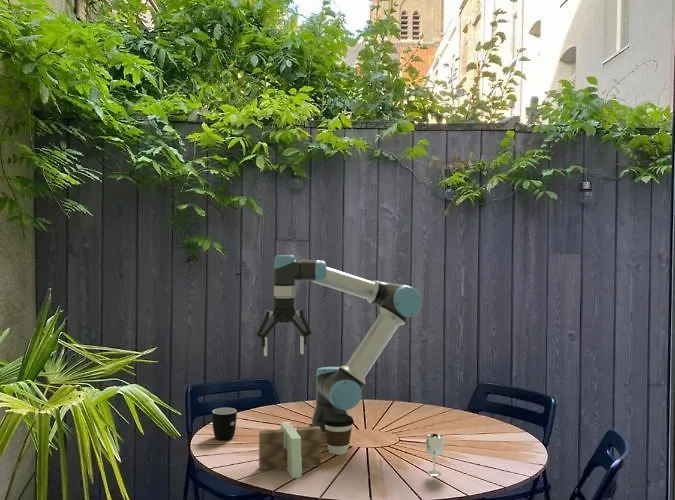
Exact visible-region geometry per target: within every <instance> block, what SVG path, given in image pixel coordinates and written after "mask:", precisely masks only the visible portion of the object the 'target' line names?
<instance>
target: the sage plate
mask: <svg viewBox="0 0 675 500" xmlns="http://www.w3.org/2000/svg"><path fill="white" fill-rule="evenodd" d="M280 429H283V431H284V449H285V448H286V450H287V468H286V470H287V472H288V473H289V475H290V478H292V479H298V478H302V475H303V473H302V471H303V467H302V458H301V437H300V436H299V434H298V433H297V429H295V427H294V426H293V425H292V423H291V422H290V421H281V422H280Z"/></svg>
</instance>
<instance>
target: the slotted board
mask: <svg viewBox="0 0 675 500" xmlns="http://www.w3.org/2000/svg"><path fill="white" fill-rule="evenodd" d="M258 431H259V432H258V436H259V437H258V469H259V471H260V472H264V471H267V472H268V471H275V470H284V469H286V470H287V450H286V448H285V449H284V431H283V429H281V428H279V429H266V430H258ZM296 432H297V433H298V434H299V436H300V437H301V458H302V468H303V466H306V467H313V466H312V465H316V466H321V465H322V429H321V428H320V427H319V426H303V427H301V426H300V427H296Z"/></svg>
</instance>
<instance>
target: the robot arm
mask: <svg viewBox="0 0 675 500" xmlns="http://www.w3.org/2000/svg"><path fill="white" fill-rule="evenodd" d="M273 262H274V263H273V281H274V282H273V297H274V298H273V310H268V309H266V310H265V312H264V317H263V319H262V320H261V323H260V324H259V326H258V329H257V331H256V332H255V335H256V336H257V337H259V338H260V345H261V347H263V356H264V357H268V337H267V336H268V334H269V333H270V332H271V331H272V330H273V328H274V327H275V326H276V325H277V324H278V323H280V324H282V323H287V324H288V323H289V322H291V323H292V324H293V326H294V327H295V328H296V329H297V330H298V332H299V333H300V334H301V335H300V336H299V339H300V340H299V341H300V343H299V348H300V349H299V354H300V355H304V354H305V351H304V350H305V346H306V345H307V337H308V336H309V335H312V331H311V329H310V326H309V325H308V322H307V321H306V319H305V316H304V311H303V310H302V309H300V308H299V309H295V298H294V297H295V281H296V282H299V281H300V282H301V281H304V282H305V281H307V282H311V283H313V284H317V285H319V286H324V287H326V288H329V289H333V290H336V291H339V292H343V293H344V294H345V293H346V294H348V295H352V296H356V297H359V298H361V299H364V300H367V302H368V303H369V304H372V305H375V306H378V307H379V311H380V312H379V315H378V316H377V318H376V320H375V321H374V323H372V326H370V329H369V330H368V331H367V333H366V334H365V336H364V337H363V339H362V340H361V342H360V343H359V345H358V347H357V348H356V350H355V351H354V352H353V353H352V356H351V357H350V358H349V360H348V361H347V363H346V364H345V365H341V366H324V367H323V366H322V367H319V368H317V369H316V374H315V380H316V381H315V385H316V386H315V387H316V388H315V393H316V394H315V408H314V410H313V411H314V412H313V414H312V417H311V427H313V426H319V427H320V428H321V430H324V431H325V424H323V419H324V417H325V416H327V415H330V414H346V415H349V414H348V410H352V409H355V408H356V407H357V406H358V404H359V403H361V402H360V401H361V400H362V390H363V388H364V387H365V386H366V379H365V378H366V376H367V375H368V373H369V372H370V370H371V369H372V368H373V366H374V364H375V363H376V362H377V360H378V359H379V357H380V355H381V354H382V352H383V351H384V349H385V348H386V346H387V345H388V343H389V341H390V340H391V338H392V337H393V336H394V334H395V332H396V331H397V329H398V328H399V327H400V326H403V325H404V326H405V324H406V323H407V321H408V320H409V319H410V318H412V317H413V316H416V315H417V314H418V313H419V312H420V310H421V307H422V298H421V294H420V293H419V291H418V290H417V289H416V288H414V287H413V286H411V285H408V284H399V283H390V282H384V281H380V280H375V279H374V280H373V281H372V280H368V279H365V278H363V277H359V276H355V275H352V274H349V273H347V272H344V271H340V270H337V269H335V268H331V267H329V266H327V264H326V261H324V260H318V259H315V260H312V259H303V258H298V259H296V258H295V255H293V254H289V255H288V254H287V255H286V254H281V255H280V254H278V255H275V257H274V261H273ZM295 315H296V316H298V318H299V320H300V321H301V323H302V325H303V328H302V326H300V324H299V323H298V322H297V321H296V320H295ZM271 316H273V317H274V318H273V319H272V321H271V322H270V323H269V325H268V326H266V325H267V323H268V320H269V318H270V317H271ZM265 327H266V328H265ZM264 329H265V330H264ZM304 329H305V331H304Z"/></svg>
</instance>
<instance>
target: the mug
mask: <svg viewBox="0 0 675 500" xmlns="http://www.w3.org/2000/svg"><path fill="white" fill-rule="evenodd" d="M237 413H238V412H237V409H236V408H233V407H219V408H215V409H213V410H212V411H211V415H212V416H211V418H212V428H213V429H212V430H213V435H214V438H215V439H216V440H218V441H222V440H224V441H229V440H233V438H234V436H235V433H236V427H237V416H238V415H237Z"/></svg>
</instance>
